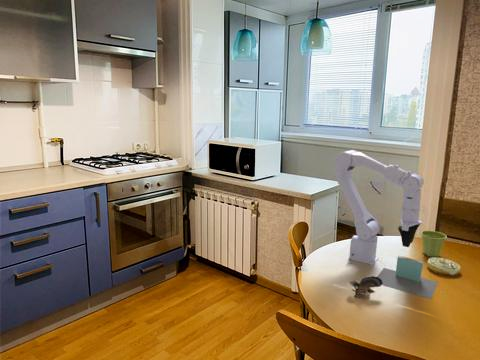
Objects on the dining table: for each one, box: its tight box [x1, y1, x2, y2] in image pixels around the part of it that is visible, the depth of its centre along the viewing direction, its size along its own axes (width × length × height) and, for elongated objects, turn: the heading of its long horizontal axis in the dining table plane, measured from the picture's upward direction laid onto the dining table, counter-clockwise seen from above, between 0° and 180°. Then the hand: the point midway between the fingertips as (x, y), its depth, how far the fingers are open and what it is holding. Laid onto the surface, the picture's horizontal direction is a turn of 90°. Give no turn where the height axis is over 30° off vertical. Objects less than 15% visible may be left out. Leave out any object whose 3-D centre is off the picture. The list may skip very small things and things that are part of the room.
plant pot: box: [420, 230, 448, 258], centre depth 148 cm, size 9×9×9 cm
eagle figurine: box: [349, 275, 383, 299], centre depth 116 cm, size 8×7×9 cm
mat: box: [376, 267, 439, 300], centre depth 124 cm, size 18×14×1 cm
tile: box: [395, 255, 424, 282], centre depth 126 cm, size 8×2×7 cm, turn 54°
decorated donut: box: [426, 256, 461, 276], centre depth 134 cm, size 10×11×4 cm
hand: (407, 244), depth 131 cm, fingers open, 4 cm apart
